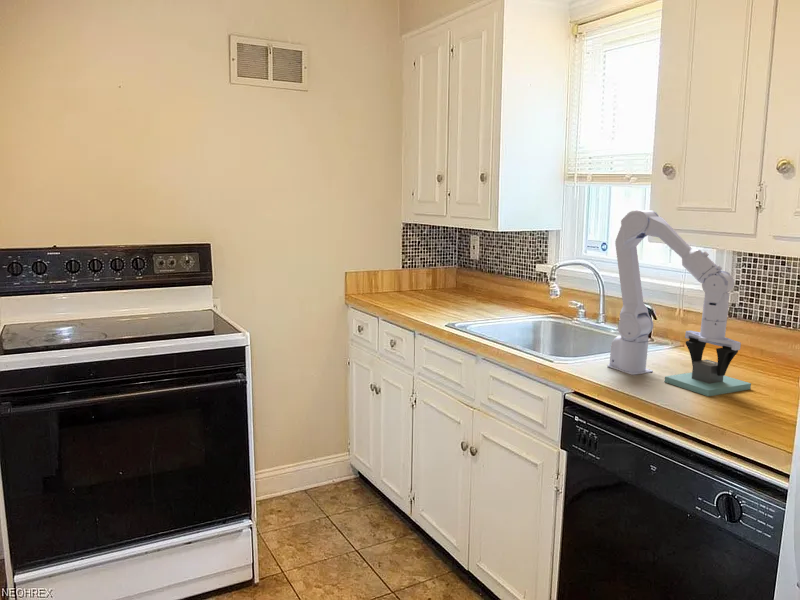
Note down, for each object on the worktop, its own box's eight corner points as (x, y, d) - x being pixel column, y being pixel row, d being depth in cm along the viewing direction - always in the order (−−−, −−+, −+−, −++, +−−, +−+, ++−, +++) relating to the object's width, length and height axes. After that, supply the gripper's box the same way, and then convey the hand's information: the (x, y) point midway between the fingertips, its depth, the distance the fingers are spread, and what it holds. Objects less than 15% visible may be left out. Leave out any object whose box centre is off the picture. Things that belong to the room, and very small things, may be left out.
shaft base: (664, 381, 168) (666, 365, 167) (705, 375, 175) (707, 359, 174) (708, 396, 156) (710, 378, 155) (750, 389, 163) (752, 371, 163)
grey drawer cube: (691, 378, 166) (693, 360, 165) (705, 376, 169) (707, 358, 168) (709, 383, 162) (711, 365, 161) (722, 381, 164) (724, 363, 163)
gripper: (679, 315, 167) (674, 365, 169) (729, 326, 154) (723, 380, 157) (697, 313, 170) (692, 363, 173) (748, 324, 158) (742, 377, 160)
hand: (708, 371), depth 165 cm, fingers open, 7 cm apart
